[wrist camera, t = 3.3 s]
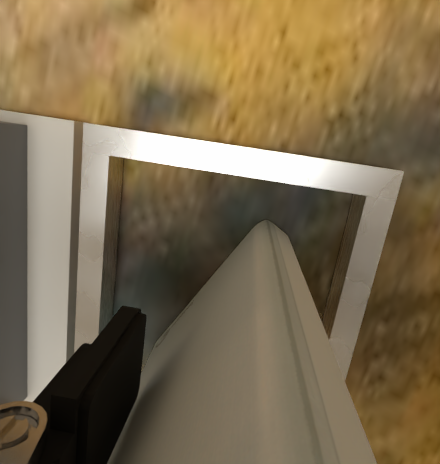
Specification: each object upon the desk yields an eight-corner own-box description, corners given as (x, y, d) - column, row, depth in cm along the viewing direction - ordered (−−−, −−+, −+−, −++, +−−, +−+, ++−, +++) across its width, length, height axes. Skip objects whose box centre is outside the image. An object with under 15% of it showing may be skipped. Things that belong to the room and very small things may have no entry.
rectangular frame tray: (387, 168, 13) (404, 171, 12) (313, 442, 16) (320, 470, 15) (101, 124, 14) (83, 122, 12) (86, 397, 17) (71, 421, 16)
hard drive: (149, 348, 16) (-156, 950, 4) (263, 214, 14) (323, 634, 2) (177, 369, 16) (-38, 1010, 4) (294, 240, 14) (524, 772, 2)
